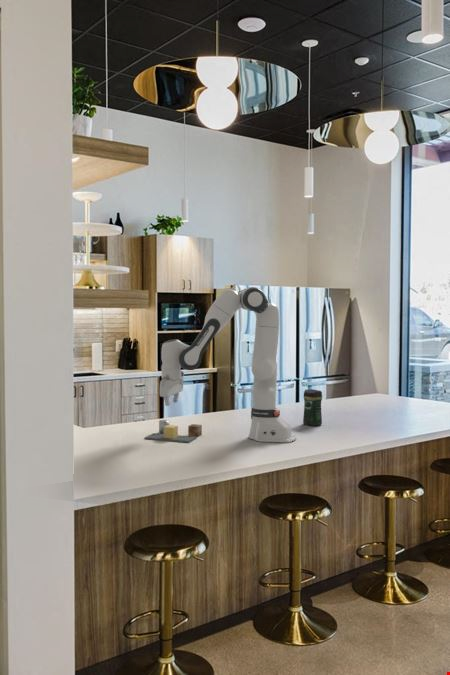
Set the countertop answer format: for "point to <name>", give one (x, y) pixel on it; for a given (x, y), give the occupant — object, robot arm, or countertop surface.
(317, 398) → the coffee jar
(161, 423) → the metal canister
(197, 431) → the walnut block
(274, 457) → the countertop surface
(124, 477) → the countertop surface
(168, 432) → the mustard block
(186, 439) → the rubber mat
